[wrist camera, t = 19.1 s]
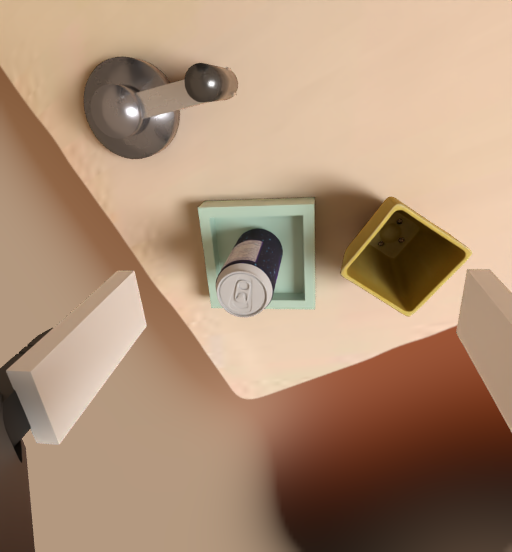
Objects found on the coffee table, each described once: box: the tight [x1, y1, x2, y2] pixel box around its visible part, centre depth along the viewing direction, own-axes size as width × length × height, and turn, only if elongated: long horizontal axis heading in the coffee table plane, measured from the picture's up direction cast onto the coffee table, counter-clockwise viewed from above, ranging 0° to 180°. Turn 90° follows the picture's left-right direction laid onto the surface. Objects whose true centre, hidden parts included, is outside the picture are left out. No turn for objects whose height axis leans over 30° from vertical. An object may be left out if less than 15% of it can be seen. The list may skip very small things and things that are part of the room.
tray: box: [198, 197, 315, 309], centre depth 47 cm, size 13×13×3 cm
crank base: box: [84, 57, 180, 159], centre depth 42 cm, size 10×10×2 cm
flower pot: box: [340, 197, 472, 317], centre depth 41 cm, size 9×9×9 cm
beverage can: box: [216, 229, 283, 317], centre depth 42 cm, size 6×6×12 cm
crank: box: [91, 63, 238, 139], centre depth 36 cm, size 15×5×9 cm, turn 103°
